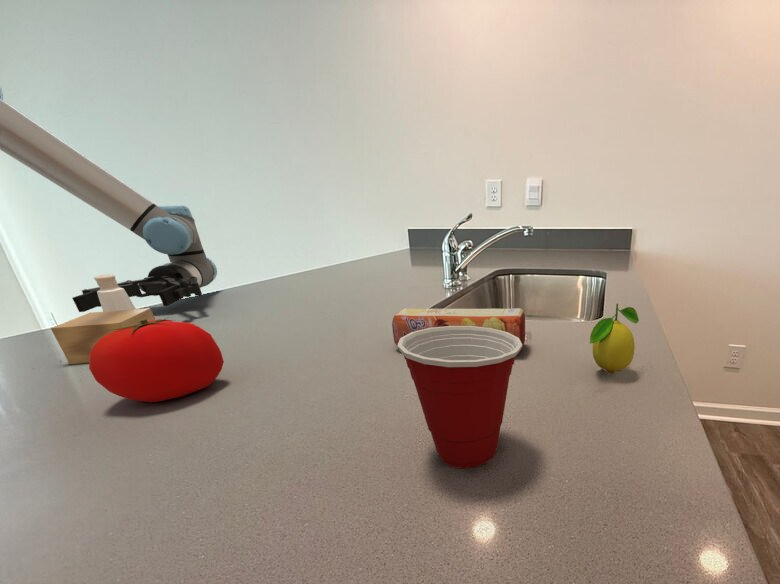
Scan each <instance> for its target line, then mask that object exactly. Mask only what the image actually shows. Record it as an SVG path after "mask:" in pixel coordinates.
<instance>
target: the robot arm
mask: <svg viewBox="0 0 780 584" xmlns="http://www.w3.org/2000/svg"><path fill="white" fill-rule="evenodd" d="M0 151H1V152H3V153H5V154H6V155H8V156H9V157H11V158H13V159H14V160H16V161H18V162H19V163H21V164H22V165H24V166H26V167H27V168H29V169H30V170H32V171H34V172H35V173H37V174H38V175H40V176H42V177H43V178H45V179H47V180H48V181H50V182H52V183H53V184H55V185H56V186H58V187H59V188H61V189H63V190H64V191H66V192H68V193H69V194H70V195H72V196H74V197H76V198H77V199H79V200H81V201H82V202H84V203H85V204H87V205H89V206H91V207H92V208H93V209H95V210H97V211H98V212H100V213H102V214H103V215H105V216H106V217H108V218H109V219H111V220H113V221H114V222H117V223H118V224H120V225H121V226H122V227H124V228H126V229H127V230H129V231H130V232H132V233H133V234H135V235H136V236H138V237H140V238H141V239H143V240H144V241H145V243H146V244H147V245H148V246H149V247H150V248H151V249H153V251H156V252H157V253H160V254H162V255H163V254H164V255H167V257H168V259H169V262H166V263H163V264H162V265H161V264H160V265H158V266H155V267H153V268H152V269H151V270H150V271H149V272H148V274H147V276H146V277H143V278H142V279H137V280H130V279H128V280H126V281H121V282H117V285H118V287H120V288H124V290H125V291H126V293H127V295H128V296H129V298H132V297H136V298H146V297H151V296H154V297H158V296H159V298H160V301H161V303H162V306H163V307H167V306H170V305H172V304H174V303H176V302H178V301H181V300H182V299H184V298H190V297H191V296H192V295H193V294H194V296H197V297H200V296H202V295H203V293H202V290H201V288H203V287H206V286H208V285H210V284H211V283H212V282H213V281H214V280H216V278H217V276H218V268H217V266H216V264H215V263H214V262H213V261H212V259H210V258H209V257H207V255H206V252H205V250H204V248H203V245H202V241H201V239H200V235H199V231H198V228H197V226H196V225H197V224H196V221H195V218H194V217H193V214H192V212H191V209H190V208H189V207H188V206H187V205H157V204H155V203H154V202H153V201H151V200H149V199H148V198H147V197H145V196H144V195H142V194H141V193H139V192H138V191H136V190H135V189H133V188H132V187H130V186H129V185H127V184H126V183H125V182H124V181H122V180H120V179H119V178H118V177H116V176H114V175H113V174H111V173H110V172H108V171H107V170H106V169H104V168H103V167H101V166H100V165H98V164H97V163H96V162H94V161H92V160H91V159H89V158H88V157H86V156H85V155H83V154H82V153H80V152H79V151H78V150H76V149H75V148H73V147H72V146H70V145H69V144H68V143H66V142H64V140H62V139H60V138H59V137H57V136H56V135H54V134H52V132H50V131H48V130H47V129H46V128H44V127H43V126H41V125H39V124H38V123H36V122H35V121H33V119H30V118H29V117H27V116H26V115H25V114H24V113H22V112H20V111H19V110H18V109H16V108H14V107H13V106H12V105H10V104H9V103H7V102H6V101H4V93H3V89H2V86H1V85H0ZM99 290H100V288H99V286H97V287H93V288H88V289H87V288H85V289H82V290H81V294H79V295H76V296H73V297H72V301H73V303H74V304H75V307H76V309H77V310H78V312H79V313H84V312H87V311H90V310H93V309H95V308H97V307H98V308H100V307H101V303H100V300H99V297H98V294H97V291H99ZM142 292H143V293H142ZM101 308H102V307H101Z"/></svg>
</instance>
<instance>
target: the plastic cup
mask: <svg viewBox="0 0 780 584" xmlns="http://www.w3.org/2000/svg"><path fill="white" fill-rule="evenodd" d="M396 347H397V349H398V351H399V352H400V353H401V354H402V356H403V357H404V358H403V359H404V360H405V361H406V365H407V368H408V370H409V374H410V377H411V379H412V381H413V383H414V387H415V390H416V393H417V396H418V399H419V402H420V406H421V409H422V413H423V416H424V419H425V422H426V425H427V428H428V431H429V432H430V434H431V437H432V441H433V443H434V444H433V445H434V446H435V450H436V452H437V454H438V455H439V458H440V460H441V461H442V462H443V463H444V464H446V465H448V466H450V467H451V468H458V469H471V468H477V467H480V466H482V465H486V464H487V463H488V462H489V461H491V460H492V459H493V458H494V456H495V454H496V453H497V449H498V447H499V442H500V441H499V440H500V433H501V426H502V425H503V421H504V414H505V407H506V401H507V396H508V395H507V394H508V388H509V381H510V377H511V375H512V370H513V366H514V364H515V361H516V358H517V356H518V354H519V353H518V352H519V351H520V350H521V348H522V343H521V341H520V339H519V338H518V337H516V336H514V335H512V334H510V333H508V332H504V331H500V330H496V329H492V328H484V327H475V326H444V327H435V328H427V329H423V330H419V331H415V332H411V333H409V334H407V335H406V336H404V337H402V338H400V340H399V343H398V345H396ZM522 349H523V348H522ZM521 351H522V350H521Z"/></svg>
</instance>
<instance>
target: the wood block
mask: <svg viewBox="0 0 780 584" xmlns="http://www.w3.org/2000/svg"><path fill="white" fill-rule="evenodd" d="M141 320H147V321H151V320H156V319H155V316H154V313H153V310H152V309H151V308H150V307H147V308H136V309H133V310H119V311H105V312H103V311H94V312H88V313H85V314H84V315H80V316H77V317H75V318H73V319H70V320H68V321H65V322H62V323H60V324H57V325H55V326H52V327H50V330H51V332H52V334H53V335H54V337H55V340H56V341H57V344H58V345H59V347H60V349H61V351H62V352H63V354H64V356H65V359H66V360H67V362H68V363H69V365H79V364H89V362H90V351H91V350H92V348H93V347H94V345H95V343H96V342H97V341H98V340H99V339H100V338H102V337H104V336H106V335H108V334H110V333H112V332H114V331H116V330H113V329H119V328H124V327H129V326H133V325H137V324H139V323H138V322H140V321H141ZM108 330H111V331H108Z"/></svg>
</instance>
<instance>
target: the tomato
mask: <svg viewBox="0 0 780 584" xmlns="http://www.w3.org/2000/svg"><path fill="white" fill-rule="evenodd" d="M138 323H139V324H137V325H133V326H129V327H124V328H119V329H113V330H116V331H114V332H112V333H110V334H108V335H106V336H104V337H102V338H100V339H99V340H98V341H97V342H96V343H95V345H94V347H93V348H92V350H91V351H90V362H89V363H88V364H89V367H88V369H89V371H90V373H91V374H92V377H93V378H94V380H95V381H96V382H97V383H98V384H99V385H100V386H101V387H103V388H104V389H105V390H106V391H108V392H109V393H110V394H114V395H116V396H118V397H121V398H124V399H127V400H130V401H134V402H145V403H146V402H147V403H156V402H157V403H158V402H163V401H168V400H173V399H178V398H182V397H184V396H187V395H189V394H192V393H195V392H197V391H200V390H203V389H205V388H207V387H209V386H210V385H211V384H212V383H213V382H214V381H215V380H216V379H217V378H218V377H219V375H220V373H221V372H222V370H223V366H224V363H225V362H224V358H223V355H222V354H223V353H222V351H221V348H220V347H219V346H218V344H217V342H216V341H215V339H214V338H213V336H212V334H211V333H210V332H208V331H206V330H205V329H203V328H202V327H200V326H198V325H196V324H194V323H192V322H184V321H183V322H182V321H176V319H174V320H171V319H169V317H167V319H166V318H164V319H163V318H162V319H160V318H159V319H155V320H151V321H147V320H141V321H140V322H138ZM108 331H111V330H108Z"/></svg>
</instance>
